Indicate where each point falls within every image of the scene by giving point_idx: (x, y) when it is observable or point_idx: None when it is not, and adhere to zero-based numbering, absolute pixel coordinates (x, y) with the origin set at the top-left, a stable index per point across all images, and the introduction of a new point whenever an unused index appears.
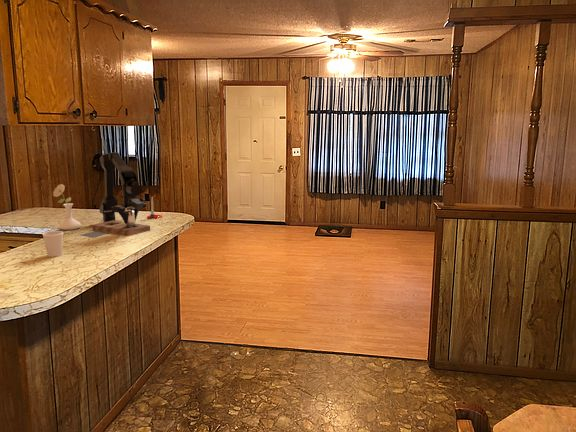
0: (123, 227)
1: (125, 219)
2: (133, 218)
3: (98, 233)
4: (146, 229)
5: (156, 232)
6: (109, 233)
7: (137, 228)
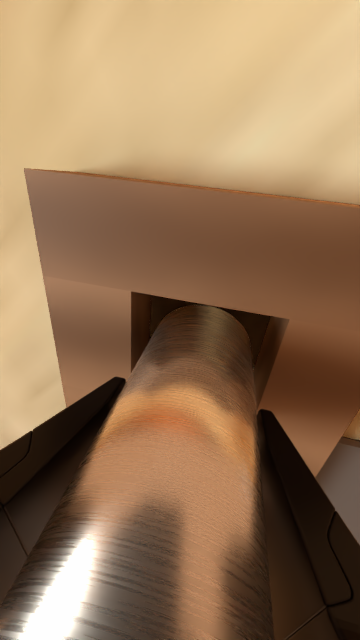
0: (264, 408)
1: (313, 487)
2: (180, 408)
3: (356, 500)
4: (117, 177)
5: (74, 6)
6: (341, 445)
7: (267, 215)
